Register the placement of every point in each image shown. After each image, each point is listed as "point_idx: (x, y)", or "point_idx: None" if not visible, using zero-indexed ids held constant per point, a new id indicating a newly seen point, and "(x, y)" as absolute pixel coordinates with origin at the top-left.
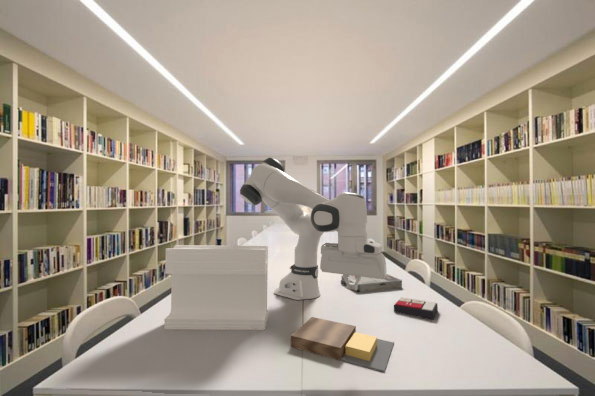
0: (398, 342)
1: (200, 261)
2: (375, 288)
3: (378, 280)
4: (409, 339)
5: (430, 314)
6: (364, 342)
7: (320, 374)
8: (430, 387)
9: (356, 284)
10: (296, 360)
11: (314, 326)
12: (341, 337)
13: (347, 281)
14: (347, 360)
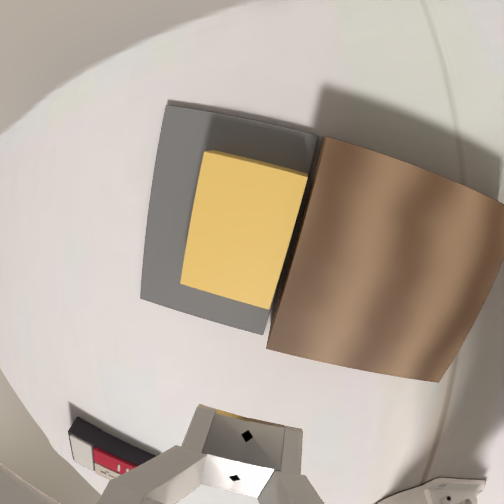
0: (130, 306)
1: None
2: None
3: None
4: (105, 327)
5: (77, 428)
6: (226, 226)
7: (381, 43)
8: (66, 87)
9: (172, 449)
10: (470, 116)
11: (439, 310)
12: (328, 235)
13: (288, 496)
14: (296, 132)
